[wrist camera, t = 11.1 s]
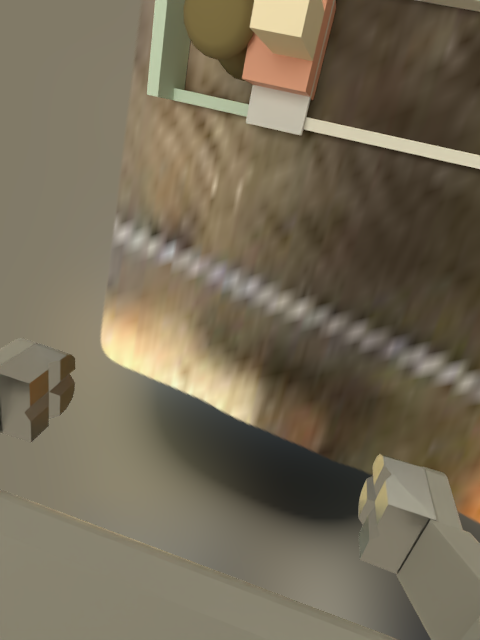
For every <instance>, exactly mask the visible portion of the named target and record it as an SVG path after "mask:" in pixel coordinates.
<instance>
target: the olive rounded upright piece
mask: <svg viewBox="0 0 480 640" xmlns="http://www.w3.org/2000/svg"><path fill="white" fill-rule="evenodd" d="M253 5H254V0H185V3H184V8H183V13H184V24H185V27H186V30H187V34H188V36H189V38H190V40H191V41H192V43H193V44H194V46H195V47H196V48H197V49H198V50H199V51H201V52H202V53H203V54H204V55H206V56H209V57H211V58H214V59H218V60H219V61H220V63H221V64H222V66H223V67H224V69H225V70H226V71H227V72H228V73H229V74H230V75H232V76H233V77H234V78H237V79H240V80H243V81H245V80H244V79H242V75H243V69H244V63H245V58H246V52H247V46H248V43H249V41H250V40H251V38H252V36H253V33H254V32H253V31H252V30H251V28H250V22H251V16H252V10H253Z"/></svg>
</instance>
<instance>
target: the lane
mask: <svg viewBox="0 0 480 640" xmlns="http://www.w3.org/2000/svg"><path fill="white" fill-rule="evenodd" d="M416 1H422V2H427V3H433V4H439V5H444V6H450V7H456V8H461V9H467V10H473V11H478V12H480V0H416ZM184 3H185V0H155V9H154V20H153V31H152V43H151V54H150V65H149V76H148V88H147V94H148V95H152V96H157V97H161V98H166V99H170V100H175V101H179V102H184V103H188V104H193V105H197V106H201V107H206V108H210V109H215V110H219V111H224V112H228V113H233V114H237V115H241V116H246V117H247V113H248V108H249V104H244V103H240V102H235V101H231V100H226V99H222V98H217V97H213V96H208V95H203V94H199V93H194V92H190V91H185V90H184V89H185V81H186V73H187V64H188V56H189V48H190V38H189V36H188V34H187V30H186V27H185V24H184V13H183V8H184ZM304 130H308V131H313V132H317V133H322V134H326V135H330V136H335V137H339V138H344V139H348V140H353V141H357V142H362V143H366V144H370V145H375V146H379V147H384V148H388V149H393V150H397V151H402V152H406V153H410V154H415V155H419V156H424V157H428V158H433V159H437V160H442V161H446V162H450V163H455V164H459V165H464V166H468V167H473V168H477V169H480V155H475V154H471V153H466V152H462V151H457V150H453V149H448V148H444V147H439V146H435V145H430V144H426V143H421V142H416V141H412V140H407V139H403V138H398V137H394V136H389V135H385V134H380V133H376V132H371V131H367V130H362V129H358V128H353V127H348V126H344V125H339V124H335V123H330V122H326V121H321V120H317V119H312V118H308V117H306V121H305V125H304Z"/></svg>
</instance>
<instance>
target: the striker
mask: <svg viewBox="0 0 480 640" xmlns="http://www.w3.org/2000/svg"><path fill="white" fill-rule="evenodd" d="M335 11H336V0H254V5H253V10H252V16H251V22H250V28H251V30H252V31H253V32H254V33H253V36H252V38H251V40H250V41H249V43H248V46H247V52H246V58H245V63H244V69H243V75H242V79H244V80H245V81H247V82H249V83H251V84H253V86H252V92H251V97H250V102H249V108H248V113H247V118H246V123H248V124H253V125H257V126H261V127H266V128H270V129H275V130H279V131H283V132H288V133H292V134H297V135H302V133H303V129H304V125H305V121H306V117H307V112H308V108H309V104H310V100H314V96H315V92H316V88H317V84H318V80H319V76H320V72H321V67H322V63H323V59H324V55H325V51H326V47H327V43H328V39H329V35H330V31H331V27H332V23H333V19H334V15H335Z"/></svg>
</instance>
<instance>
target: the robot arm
mask: <svg viewBox="0 0 480 640" xmlns="http://www.w3.org/2000/svg"><path fill="white" fill-rule="evenodd" d="M74 370H75V358H74V357H73V356H72V355H71V354H68V353H65V352H62V351H60V350H57V349H54V348H51V347H48V346H45V345H42V344H38V343H36V342H33V341H30V340H27V339H24V338H19V339H16V340H14V341H13V342H11V343H9V344H7V345H6V346H4V347H2V348H1V349H0V433H3V434H7V435H9V436H12V437H16V438H19V439H22V440H25V441H28V442H32V441H33V440H34V439H35V438H37V437H38V436H39V435H40V434H41V433H42V432H43V431H44V430H45V429H46V428H47V427H48V426H49V419H50V418H53V417H56V416H60V415H61V414H62V413H63V412H64V411H65V410H66V409H67V407H68V405H69V403H70V402H71V400H72V398H73V394H74V389H75V388H74V387H75V383H74V380H73V379H72V377H71V375H70V373H71V372H72V371H74ZM358 512H359V513H358V515H359V520H360V521H361V523H362V524H363V527H362V529H361V531H360V533H359V554H360V560H361V561H364V562H367V563H369V564H372V565H374V566H377V567H380V568H383V569H385V570H387V571H390V572H393V573H395V574H398V575H397V577H398V579H399V581H400V583H401V585H402V587H403V589H404V590H405V592H406V594H407V596H408V598H409V600H410V602H411V603H412V605H413V607H414V609H415V611H416V613H417V614H418V616H419V618H420V620H421V622H422V623H423V626H424V627H425V629H426V631H427V633H428V635H429V637H430V638H431V640H480V543H479V542H478V541H477V540H476V539H475V538H474V537H473V536H472V535H471V533H469V532H467V531H464V530H463V529H462V525H461V522H460V519H459V515H458V512H457V509H456V505H455V502H454V498H453V495H452V492H451V488H450V485H449V482H448V478H447V476H446V475H445V474H444V473H443V472H439V471H436V470H432V469H429V468H426V467H420V466H417V465H414V464H410V463H407V462H404V461H401V460H398V459H395V458H391V457H388V456H385V455H382V454H379V455H378V457H377V458H376V460H375V462H374V464H373V476H372V477H370V478H368V479H366V481H365V484H364V486H363V489H362V492H361V496H360V500H359V509H358ZM0 640H398V639H395V638H393V637H390V636H388V635H385V634H382V633H380V632H377V631H374V630H372V629H369V628H366V627H364V626H361V625H359V624H356V623H353V622H351V621H348V620H345V619H342V618H340V617H337V616H335V615H332V614H329V613H327V612H324V611H321V610H319V609H316V608H313V607H311V606H308V605H305V604H303V603H300V602H297V601H295V600H292V599H290V598H287V597H284V596H282V595H279V594H276V593H273V592H271V591H268V590H266V589H263V588H260V587H258V586H255V585H252V584H250V583H247V582H245V581H242V580H239V579H237V578H234V577H231V576H229V575H226V574H224V573H221V572H218V571H216V570H213V569H210V568H208V567H205V566H202V565H200V564H197V563H194V562H192V561H189V560H186V559H184V558H181V557H179V556H176V555H173V554H171V553H168V552H165V551H163V550H160V549H157V548H155V547H152V546H149V545H147V544H144V543H141V542H139V541H136V540H134V539H131V538H128V537H125V536H123V535H120V534H117V533H115V532H112V531H110V530H107V529H104V528H102V527H99V526H96V525H94V524H91V523H88V522H86V521H83V520H81V519H78V518H75V517H73V516H70V515H67V514H65V513H62V512H59V511H57V510H54V509H51V508H49V507H46V506H43V505H40V504H38V503H35V502H33V501H30V500H27V499H25V498H22V497H20V496H16V495H14V494H11V493H9V492H6V491H4V490H1V489H0Z"/></svg>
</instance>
